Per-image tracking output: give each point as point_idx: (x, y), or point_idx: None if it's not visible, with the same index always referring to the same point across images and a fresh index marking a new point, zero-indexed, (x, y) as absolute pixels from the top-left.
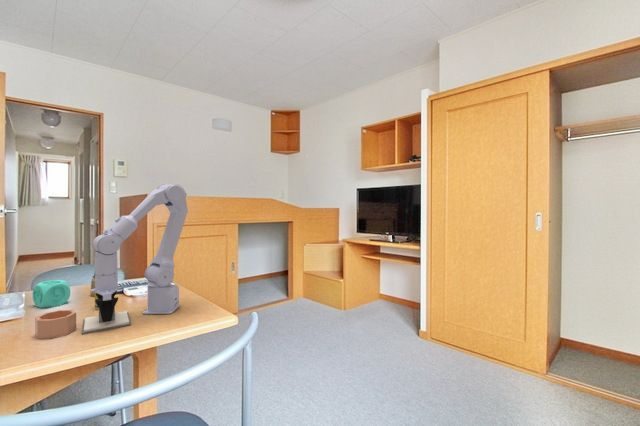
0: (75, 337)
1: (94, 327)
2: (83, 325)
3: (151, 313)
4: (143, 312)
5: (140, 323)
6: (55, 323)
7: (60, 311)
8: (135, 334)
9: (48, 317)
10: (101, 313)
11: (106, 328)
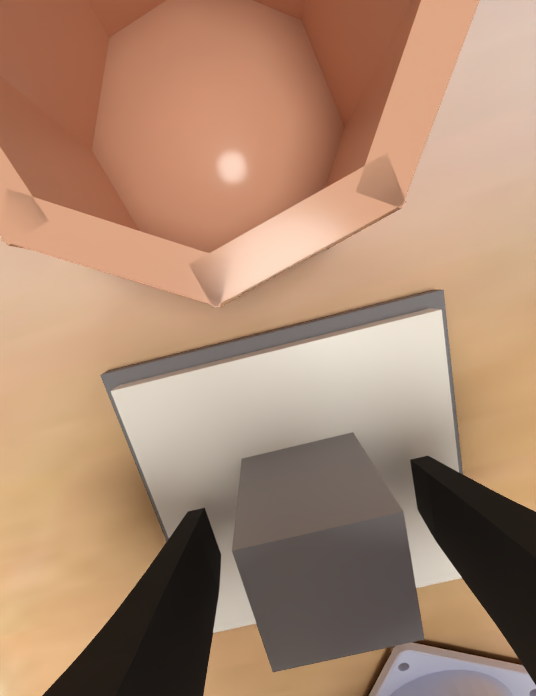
0: (63, 344)
1: (144, 453)
2: (275, 338)
3: (375, 689)
4: (406, 657)
5: (225, 651)
6: None
7: None
8: (42, 658)
9: None
10: (129, 601)
11: (155, 511)
